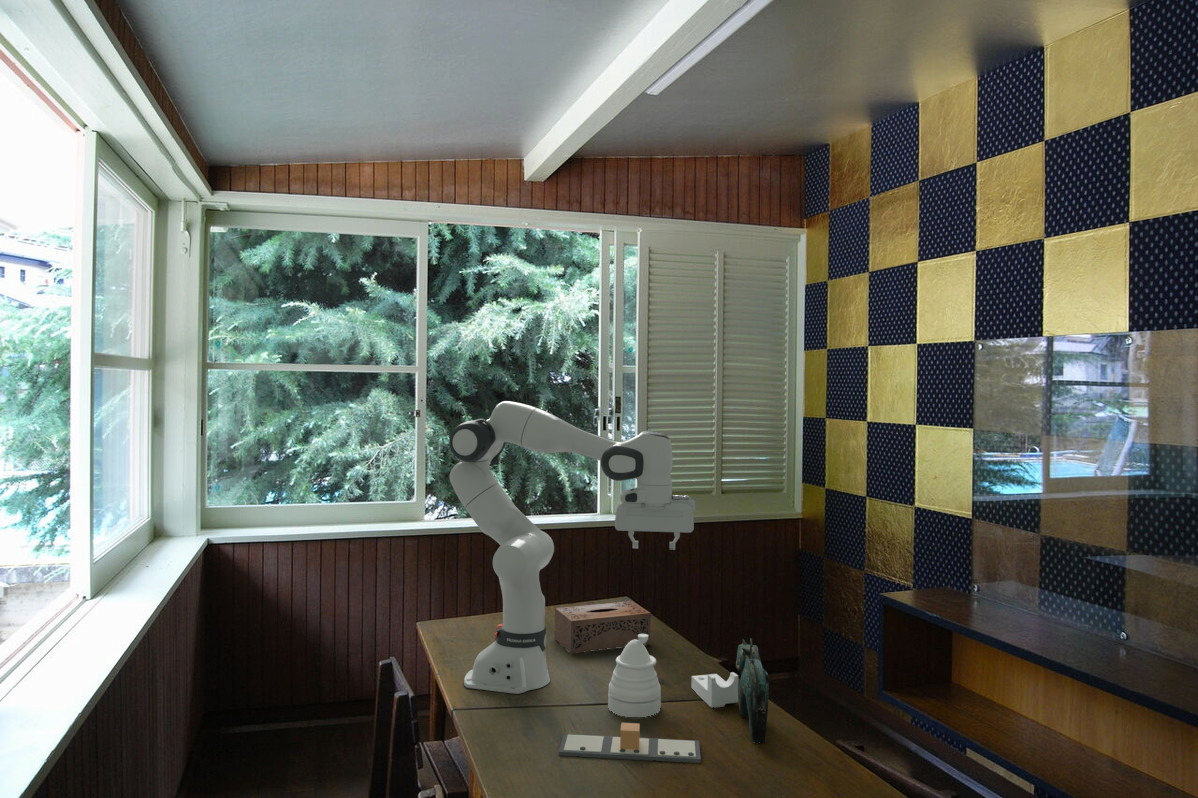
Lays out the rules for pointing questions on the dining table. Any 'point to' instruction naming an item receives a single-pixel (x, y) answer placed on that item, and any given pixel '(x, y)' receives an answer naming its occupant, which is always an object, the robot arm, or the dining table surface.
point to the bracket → (716, 689)
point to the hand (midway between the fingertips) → (653, 548)
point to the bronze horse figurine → (753, 690)
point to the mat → (647, 749)
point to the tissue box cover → (600, 625)
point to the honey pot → (635, 682)
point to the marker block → (629, 736)
